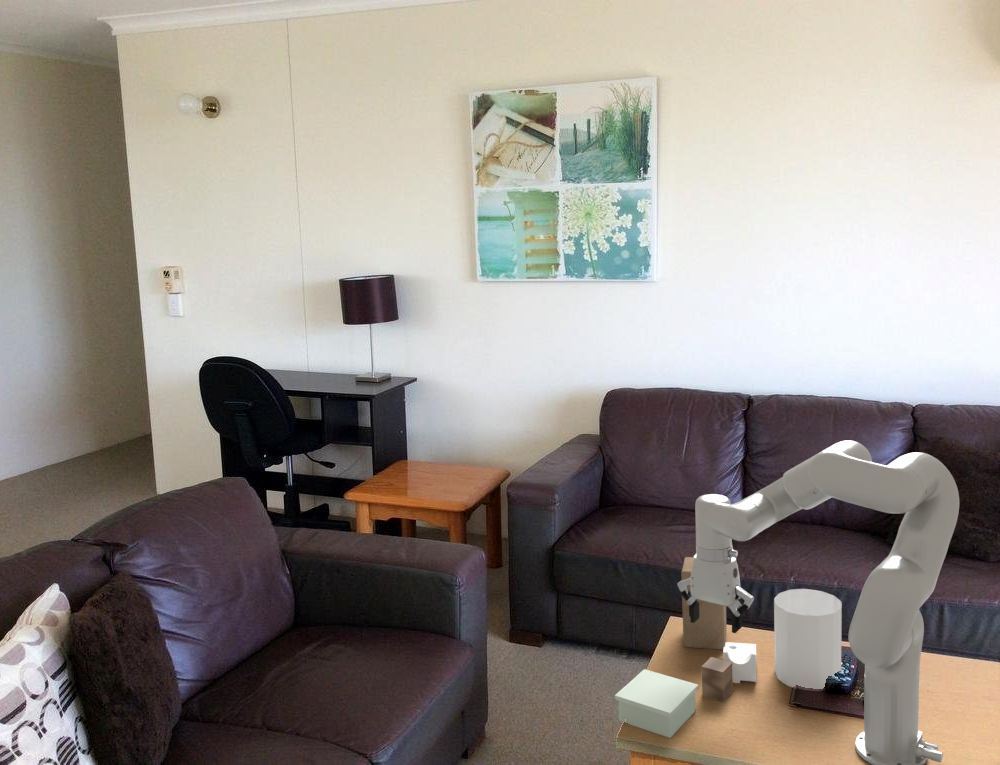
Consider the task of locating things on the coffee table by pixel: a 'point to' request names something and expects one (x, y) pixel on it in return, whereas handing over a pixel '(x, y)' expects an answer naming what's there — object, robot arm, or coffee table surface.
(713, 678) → the walnut block
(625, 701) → the sage box
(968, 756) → the coffee table surface
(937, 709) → the coffee table surface
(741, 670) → the bracket
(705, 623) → the wooden block
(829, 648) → the container
